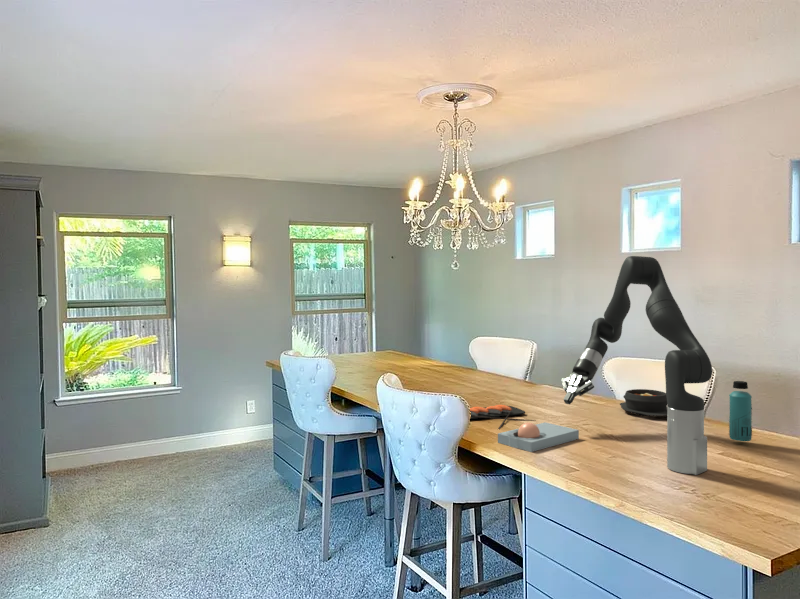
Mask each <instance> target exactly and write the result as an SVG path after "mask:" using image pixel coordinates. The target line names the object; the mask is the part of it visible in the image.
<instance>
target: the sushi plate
mask: <svg viewBox="0 0 800 599" xmlns="http://www.w3.org/2000/svg"><path fill="white" fill-rule="evenodd" d="M469 408H470V412H471V419H470V420H477V419H478V418H480V419H497V420H498V419H499V420H503V421H502V423H501V424H500V425H499V427H497V428H498V429H499V430H501V428H502V427H503V425H504V424H505V422H506V420H508V421H519V422H521V421H525V422H526V421H528V422H529V421H531V422H532V421H533V422H535V421H537V420H535V419H522V418H508V417H510V416H511V417H512V416H517V415H524V414H526V411H525V410H523V409H521V408H518V407H515V406H512V405H505V404H496V405H490V406H486V407H483V406H473V407H469ZM500 416H502V417H500ZM498 429H497V430H498Z"/></svg>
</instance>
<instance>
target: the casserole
mask: <svg viewBox="0 0 800 599" xmlns="http://www.w3.org/2000/svg"><path fill="white" fill-rule="evenodd" d="M622 397H623V398H624V400H625V402H620V403H619V405H620V408H621V409H622V410H624V411H627V412H629V413H631V414H634V415H637V416H641V415H642V417H667V396H666V391H661V390H656V389H655V390H654V389H646V388H644V389H643V388H640V389H636V388H634V389H628V390H625V393H624V395H623V396H622Z"/></svg>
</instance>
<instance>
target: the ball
mask: <svg viewBox="0 0 800 599" xmlns="http://www.w3.org/2000/svg"><path fill="white" fill-rule="evenodd" d="M517 429H518V437H520V438H536V437H539V436H540V431H539V429H538V427H537V426H536V424H534V423H533V422H529V421H528V422H524V423H522V424H521V425H520V426H519V428H517Z"/></svg>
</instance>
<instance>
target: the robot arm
mask: <svg viewBox="0 0 800 599" xmlns="http://www.w3.org/2000/svg"><path fill="white" fill-rule="evenodd" d="M619 270H620V271H619V274H618V277H617V280H616V283H615V286H614V291H613V295H612V296H611V299H610V301H609V303H608V304H607V307H606V310H605V311H604V313H603V317H598V318H596V319H594V321H593V324H592V326H591V332H590V337H589V340H588V342H587V344H586V345H585V347H584V349H583V351H582V352H581V354H580V355H579V357H578V358H577V360H576V363H575V364H574V366H573V367H572V373H571V374H569V376H568V377H566V378H565V377H562V378H561V384H562V388H563V390H564V392H565V393H566V394H565V396H564V397H563V402H564V403H565V404H566V405H571V404H572V403H573V401H574V400H575V398H576V397H577V396H579V397H581V396H584V395H585V394H586V393H588V392H590V391H591V390H593V389H594V388H595V384H593V379H594V377H595V376H596V374H597V372H598V370H599V367H601V366H600V365H601V363H602V361H603V359H604V357H605V355H606V353H607V352H608V348H609V347H608V344H607V342H608V343H611V344H614V343H616V342H618V341H619V340H620V339H621V336H622V333H623V330H622V329H623V323H624V321H625V319H626V317H627V315H628V313H629V312H630V309H631V304H632V303H631V299H630V296H629V293H628V288H629V286H630V285H644V286H648V287H649V289H650V291H651V294H650V296H649V297H648V300H647V302H646V304H645V314H646V316H647V318H648V320H649V323H650V325H651V327H652V328H653V330H654V331H655V332H656V333H657V334H659V335H660V336H661V337H662V338H664V339H665V340H666V341H669V342H670V343H671V344H673V345H674V346H676V347H677V348H678V349H674V350H670V351H668V352H667V353H666V356H665V359H664V377H665V393H666V396H667V416H666V419H667V420H666V421H667V422H666V429H667V430H666V434H667V435H666V438H667V440H666V442H667V443H666V450H667V451H666V453H667V454H666V455H667V456H666V462H667V463H666V464H667V466H666V467H667V469H669V470H670V471H673V472H676V473H681V474H687V475H688V474H689V475H695V476H697V475H700V474H702V473H705V472H706V471H708V437H707V435H705V400H704V399H703V397H701V396H699V395H695V394H692V393H690V392H688V391H687V390H686V388H685V384H703V383H707V382H708V381H710V380H711V378H712V376H713V366H712V363H711V360H710V358H709V355H708V353H707V352H706V350H705V349H704V347H703V345H701V343H700V342H699V340H698V339H697V338H696V336H695V334H694V333H693V331H692V329H691V328H690V326H689V325H688V323H687V321H686V319H685V317H684V315H683V312H682V310H681V308H680V306H679V304H678V303H677V300H675V298H674V296H673V294H672V291H671V289H670V287H669V285H668V283H667V281H666V278H665V275H664V272H663V269H662V265H660V263H659V260H657V259H656V258H655V257H652V256H642V255H641V256H640V255H630V256H627V257H626V258H625V260H624V261H623V262H622V265H621V267H620V269H619ZM605 341H606V342H605Z"/></svg>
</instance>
